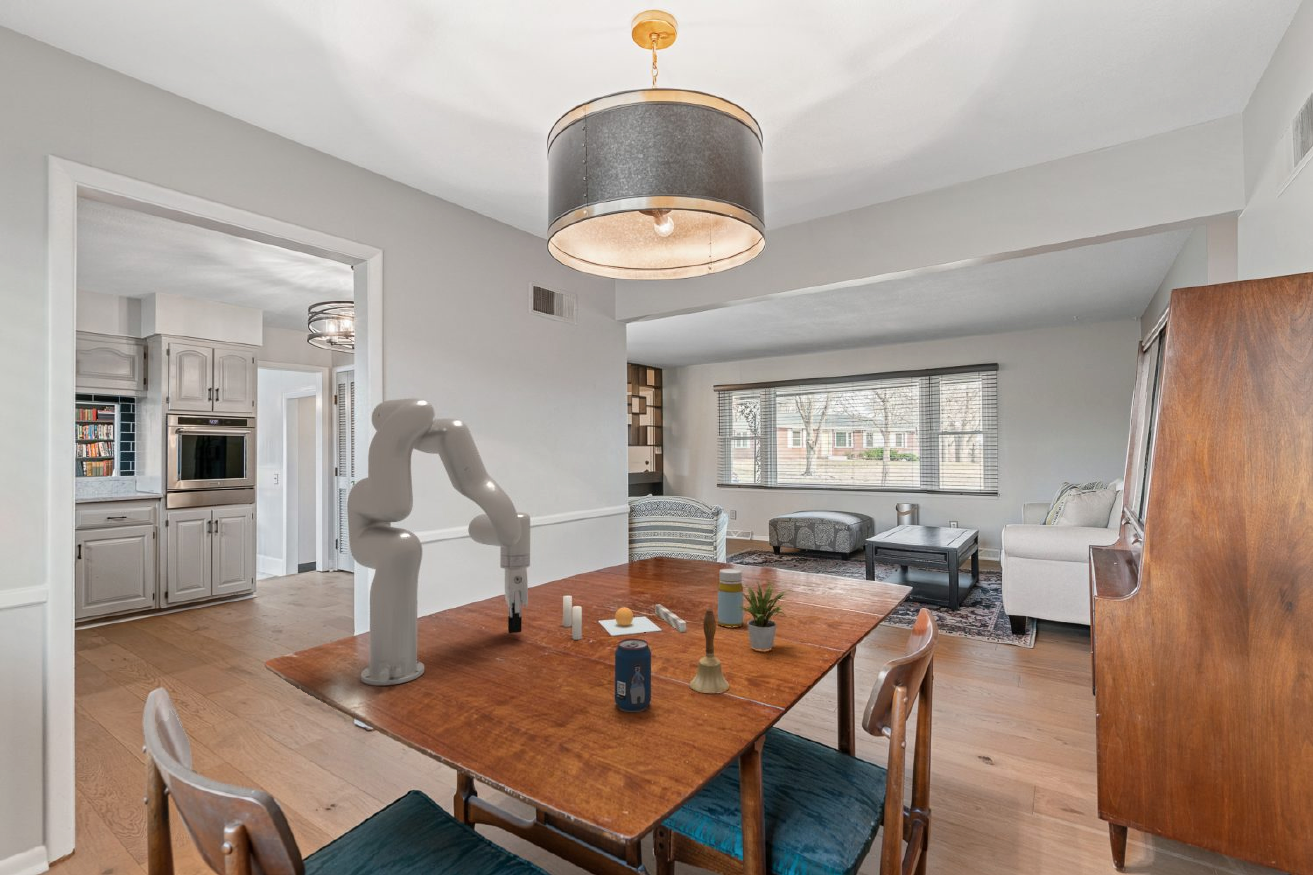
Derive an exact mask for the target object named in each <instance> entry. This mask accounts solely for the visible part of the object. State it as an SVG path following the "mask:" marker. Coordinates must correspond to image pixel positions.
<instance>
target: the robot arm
mask: <svg viewBox="0 0 1313 875" xmlns="http://www.w3.org/2000/svg"><path fill="white" fill-rule="evenodd" d="M435 412H436V411H435V408H434V406H433V405H432V404H431V403H430V402H429V401H428V400H425V399H421V398H417V397H416V398H414V397H413V398H412V397H411V398H402V399H401V398H400V399H389V400H386V401H383V402H382V401H381V403H378V404H377V405H376V406H375V408H374V409H373V411H372V413H371V423H372V426H373V428H374V429H375V431H376V432H375V433H374V434H373V437H372V439H371V441H370V445H369V448H368V455H367V465H368V466H367V468H368V470H367V474H368V476H367V477H365V478H362V479H360V480H358V481H357V482H355V484H354V485H353V486H352V487H351V489H350V491H349V494H348V496H347V504H346V505H347V510H346V512H347V525H348V526H347V527H348V539H349V548H350V553H351V556H352V558H353V560H354V561H355V562H356V563H358V565H360V566H362V567H365V568H369V569H372V570H375V571H374V576H373V579H372V582H371V585H370V590H369V635H368V636H369V637H368V638H369V642H368V643H369V649H368V656H369V657H368V660H369V661H368V667H366V668H365V669H363V670H362V671H361V674H360V680H361V682H362V683H364V684H366V685H371V686H392V685H393V686H394V685H399V684H404V683H407V682H410V681H414V680H415V679H418V678H420V677H421V676H422V675H423V674H424V673H425V665H424V663H423V662H421V661H418V593H419V592H418V590H419V588H418V587H419V586H418V585H419V576H420V575H419V574H420V569H421V564H422V559H423V546H422V542H421V540H420V538H419V537H418V536H417V535H416V534H415V533H414V532H412V531H410V530H407V529H405V528H401V527H395V526H394V527H393V526H391V524H392V523H398V522H401V521H404V520H405V519H406V518H408V517H409V516H410V515H411V512H412V510H413V508H414V507H413V505H414V495H413V482H412V481H413V480H412V454H413V451H414V450H417V451H420V452H423V453H426V454H433V455H434V454H435V455H436V454H437V455H438V456H439V457H440V461H441V462H442V465H443V467H444V469H445V472H446V473H447V475H448V478H449V480H450V483H451V485H452V487H453V488H454V489H455V490H456V491H457V492H458V493H460V495H462V496H464V497H466V498H467V499H469V500H471V501H472V502H474V503H475V504H476V505H478V506H479V507H480V509H482V511H483V512H484V514H480V515H479V514H478V515H477V516H474V517H473V519H471V521H470V522H469V525H468V530H467V531H468V535H469V537H470V538H471V539H472V540H473V541H474V542H476V543H478V544H481V545H486V546H495V547H500V556H499V557H500V558H499V560H500V563H499V564H500V568H501V569H504V599H505V603H506V605H507V606H508V617H507V620H508V621H507V623H508V624H507V631H508V634H514V633H515V634H516V633H521V632H522V629H523V628H522V625H523V624H522V623H523V622H522V620H523V619H522V605H523V606H524V607H526V608H527V607H528V606H529V589H528V584H529V583H528V570H527V568H529V567H531V516H530V515H529V514H528V513H527V512H520V511H517V510H516V507H515V505H514V503H513V501H512V499H511V498H510V497H509V495H508V494H507V493H506V492H505V490H504V489H503V488H502V487H501V486H500V485H499V483H497V481H496V480H495V479H494V478H493V477H491V476H490V475H489V473H488V472H487V469H486V467H485V464H484V463H483V462H484V461H483V459H482V457H481V455H480V452H479V450H478V447H477V446H476V443H475V441H474V439H473V438H474V437H473V436H472V434H471V431H470V430H469V426H468V425H467V424H466V423H465V422H464V421H462V420H460V419H457V418H435V417H436V413H435Z"/></svg>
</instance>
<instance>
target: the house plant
mask: <svg viewBox="0 0 1313 875" xmlns="http://www.w3.org/2000/svg"><path fill="white" fill-rule="evenodd" d="M756 582H757V587H758V590H755V592H756V594H757V595H756V594H755V592H754V590H753V589H752V588H751V587H750V586H749V585H747V584H745V586H746V589H747V591H748V593H749V596H748V595H746V593H744V592H743V593H742V592H741V591H740V592H741V593H742V594H743V598H745V599H746V600H747V601H748V604H749V605H750V606H746V607H745V606H743V607H738V608H737V609H743V611H746V612H748V613H750V614H751V615H752V617H753V619H751V620H748V621H747V629H748V630H747V631H748V637H749V642H750V647H751V646H752V647H753V648H755V649H761V650H765V649H770V648H772V647H774V641H775V638H776V637H775V636H776V630H777V623H776V622H775V621H773V620H771V619H774V618H775V617H776V616H777V615H778V614H781V615H784V616H786V614H785V612H784V611H782V610H783V609H781V607H782V606H784V604H780V605H777V606H776V603H777V602H779V601H780V600H781V599H785V598H786V595H789V594H787V592H788V593H789V592H791V591H792V589H791V590H790V589H788V590H786V591H785V590H784V591H782V592H781V593H779V594H777V595H776V596H775V597H774V598H773V599H771V597H772V595H773V592H772V591H773V589H774V585H771V582H769V584H768V586H767V588H766V590H765V592H764V595H763V591H762V588H761V585H760V583H759V582H758V581H756ZM780 602H781V601H780ZM787 605H788V604H785V606H787ZM775 613H776V614H775ZM773 614H775V615H774V616H773ZM772 616H773V617H772ZM771 617H772V618H771Z"/></svg>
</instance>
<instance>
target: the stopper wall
mask: <svg viewBox="0 0 1313 875" xmlns="http://www.w3.org/2000/svg"><path fill="white" fill-rule="evenodd" d="M654 613H655V614H656V616H658V617H659V618H661V619H662V620H663V619H664V620H663V621H665V622H666V623H667V624H669V625H670V626H671V625H672V626H671V627H673V628H674V629H675V628H676V629H675V630H677V631H678V632H679V633H687V622H686V621H684V620H683V619H682V618H681V617H679V616H677V615H676V614H675V613H674V612H673V611H671V610H670V609H668V608H666V607H665V606H663V605H662V604H660V603H658V604H655V605H654Z"/></svg>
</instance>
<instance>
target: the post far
mask: <svg viewBox="0 0 1313 875" xmlns="http://www.w3.org/2000/svg"><path fill="white" fill-rule="evenodd" d="M572 607H573V595H563V596H562V626H563V627H564V628H569V627H572Z"/></svg>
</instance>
